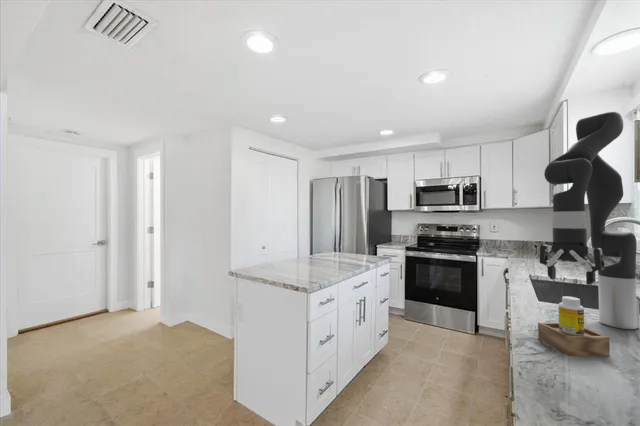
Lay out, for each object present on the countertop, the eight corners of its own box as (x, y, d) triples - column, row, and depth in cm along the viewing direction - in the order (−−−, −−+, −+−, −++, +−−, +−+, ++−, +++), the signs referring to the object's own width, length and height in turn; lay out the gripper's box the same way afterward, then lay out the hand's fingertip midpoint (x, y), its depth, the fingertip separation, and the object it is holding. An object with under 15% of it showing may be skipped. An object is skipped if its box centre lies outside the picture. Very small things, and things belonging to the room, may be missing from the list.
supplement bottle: (581, 338, 78) (580, 301, 78) (556, 331, 82) (555, 297, 83) (587, 334, 81) (586, 298, 81) (562, 327, 86) (562, 294, 86)
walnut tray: (573, 338, 87) (573, 322, 87) (609, 356, 76) (609, 337, 76) (538, 338, 87) (538, 322, 87) (569, 355, 76) (568, 337, 76)
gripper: (606, 227, 78) (608, 285, 78) (546, 226, 90) (547, 276, 90) (596, 227, 74) (598, 288, 74) (534, 226, 87) (535, 278, 86)
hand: (570, 281), depth 82 cm, fingers open, 8 cm apart
